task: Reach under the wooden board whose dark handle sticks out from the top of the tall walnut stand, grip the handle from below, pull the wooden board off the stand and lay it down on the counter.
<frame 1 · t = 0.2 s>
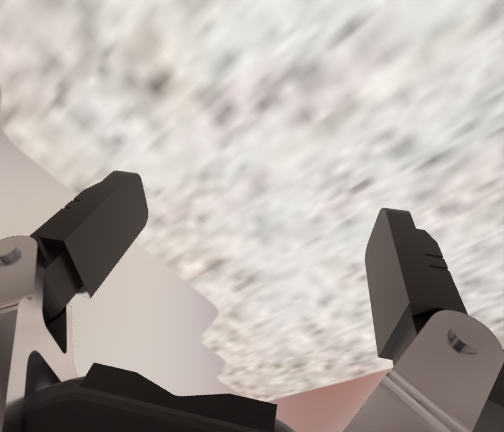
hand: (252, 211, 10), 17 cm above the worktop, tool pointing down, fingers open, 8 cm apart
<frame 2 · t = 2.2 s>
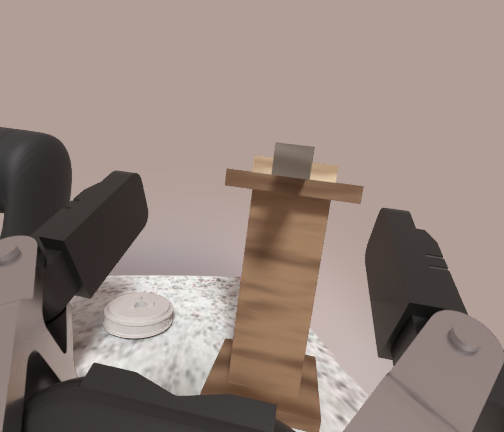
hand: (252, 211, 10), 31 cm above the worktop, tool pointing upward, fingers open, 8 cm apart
lid: (138, 325, 59), on the worktop
wooden board: (293, 177, 36), point 32 cm above the worktop, touching tall stand
tall stand: (263, 384, 47), on the worktop
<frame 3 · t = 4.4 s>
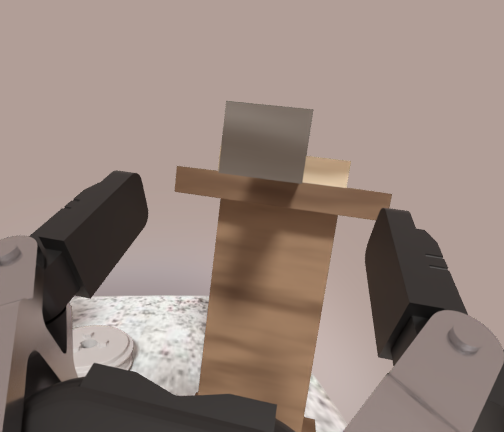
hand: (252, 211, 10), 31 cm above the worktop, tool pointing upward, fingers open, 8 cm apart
lid: (87, 371, 46), on the worktop
wooden board: (280, 179, 23), point 32 cm above the worktop, touching tall stand
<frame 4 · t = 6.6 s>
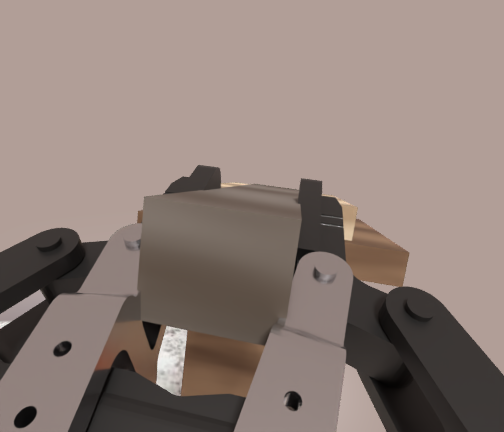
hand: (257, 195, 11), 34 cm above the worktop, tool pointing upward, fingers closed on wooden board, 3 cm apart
wooden board: (268, 228, 19), point 32 cm above the worktop, touching gripper, tall stand
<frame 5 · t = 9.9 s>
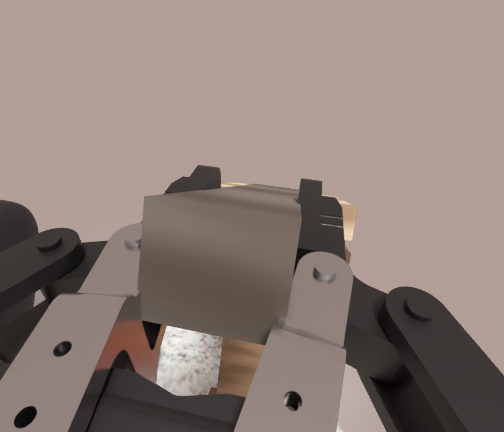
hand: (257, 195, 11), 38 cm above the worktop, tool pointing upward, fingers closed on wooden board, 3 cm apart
wooden board: (268, 228, 19), point 36 cm above the worktop, touching gripper
when the fingers open (15 cm above the worktop, at t = 13.4 s): wooden board drops 9 cm, on the worktop.
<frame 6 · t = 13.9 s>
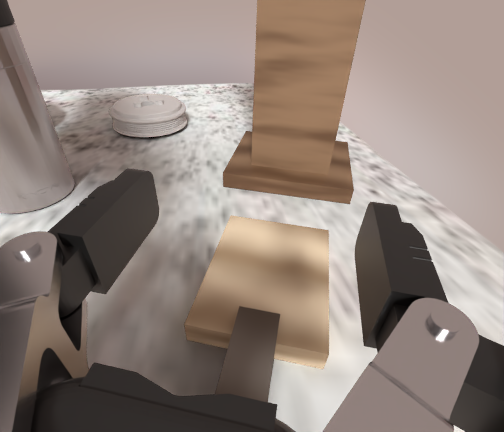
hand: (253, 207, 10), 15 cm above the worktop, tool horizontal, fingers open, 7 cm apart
lid: (151, 128, 54), on the worktop
wooden board: (252, 354, 22), on the worktop
tall stand: (290, 168, 44), on the worktop
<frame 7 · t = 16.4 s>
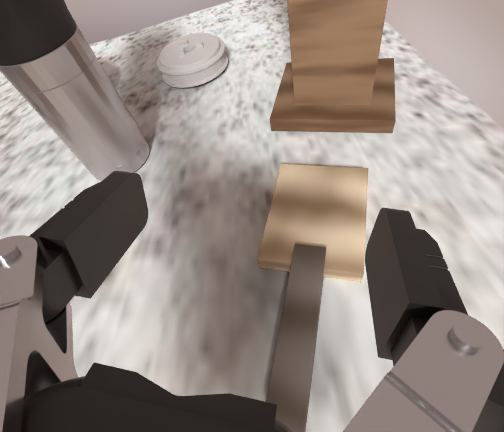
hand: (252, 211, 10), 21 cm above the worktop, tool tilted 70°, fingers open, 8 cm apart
lid: (196, 73, 57), on the worktop
wooden board: (308, 274, 30), on the worktop
tall stand: (333, 99, 45), on the worktop
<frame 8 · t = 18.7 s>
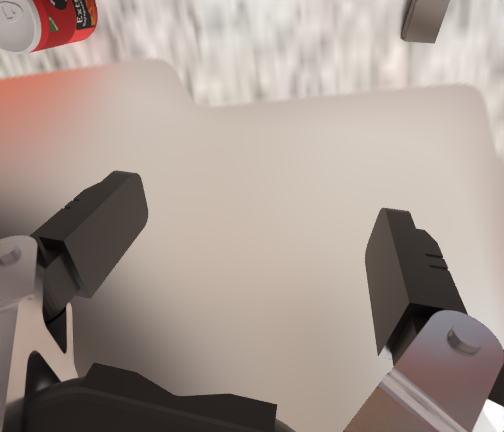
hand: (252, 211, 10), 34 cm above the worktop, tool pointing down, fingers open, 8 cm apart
canned food: (71, 6, 39), on the worktop
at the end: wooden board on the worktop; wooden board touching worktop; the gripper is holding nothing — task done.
